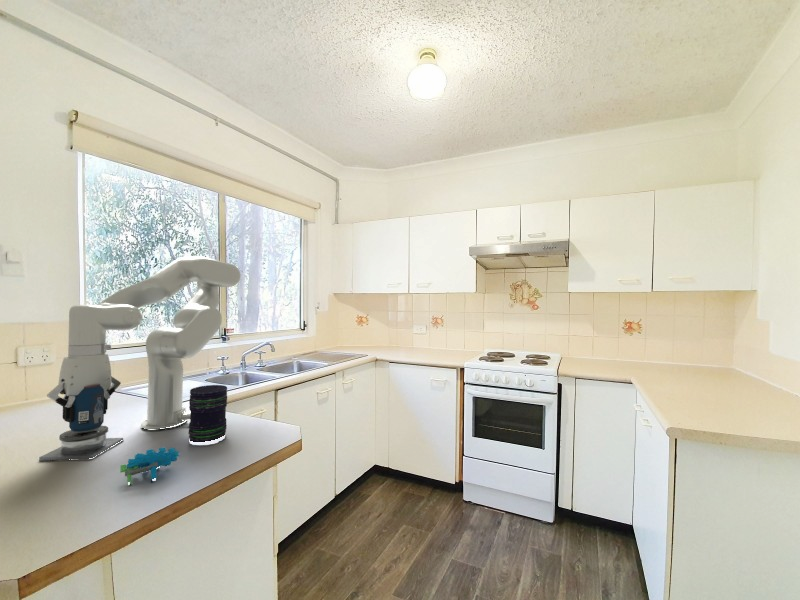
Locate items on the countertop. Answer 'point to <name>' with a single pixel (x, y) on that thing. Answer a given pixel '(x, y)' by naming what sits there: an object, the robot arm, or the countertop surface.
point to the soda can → (88, 409)
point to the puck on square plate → (81, 445)
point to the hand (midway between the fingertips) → (85, 416)
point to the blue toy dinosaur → (149, 462)
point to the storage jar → (207, 413)
